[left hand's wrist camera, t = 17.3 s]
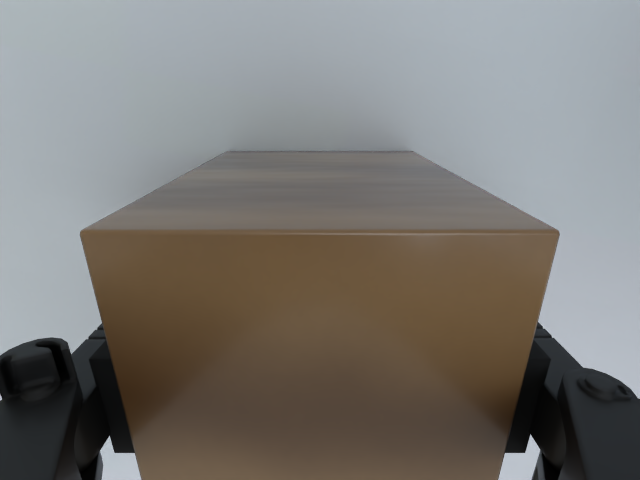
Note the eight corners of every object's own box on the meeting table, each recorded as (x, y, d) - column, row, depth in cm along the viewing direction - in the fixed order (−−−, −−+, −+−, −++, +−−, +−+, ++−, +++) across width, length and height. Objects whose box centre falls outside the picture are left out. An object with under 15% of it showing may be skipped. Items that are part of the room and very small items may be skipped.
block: (398, 322, 19) (480, 554, 9) (241, 322, 19) (158, 554, 9) (413, 151, 16) (563, 230, 6) (225, 150, 16) (75, 230, 6)
